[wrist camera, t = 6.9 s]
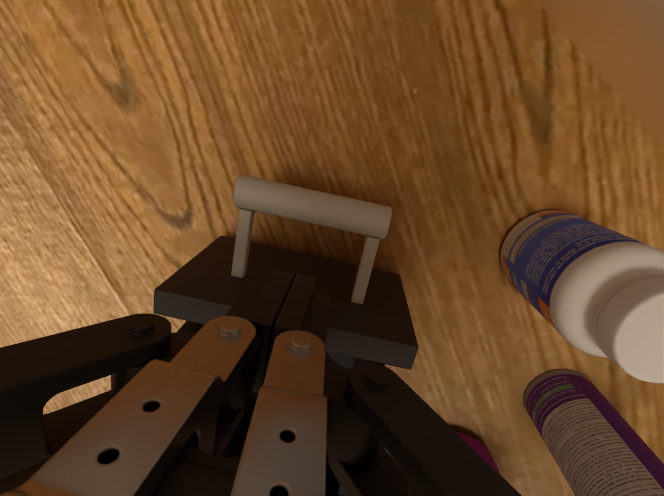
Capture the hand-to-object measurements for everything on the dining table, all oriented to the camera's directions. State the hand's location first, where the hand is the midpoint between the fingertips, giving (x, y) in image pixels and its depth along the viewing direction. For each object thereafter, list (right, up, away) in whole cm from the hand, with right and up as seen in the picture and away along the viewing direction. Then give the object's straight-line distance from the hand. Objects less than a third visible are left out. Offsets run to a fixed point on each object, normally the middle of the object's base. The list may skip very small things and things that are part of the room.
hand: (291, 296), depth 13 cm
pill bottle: (+14, +2, +10) cm, 17 cm away
